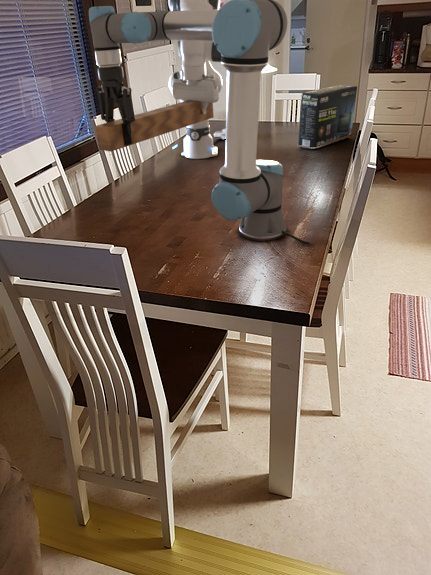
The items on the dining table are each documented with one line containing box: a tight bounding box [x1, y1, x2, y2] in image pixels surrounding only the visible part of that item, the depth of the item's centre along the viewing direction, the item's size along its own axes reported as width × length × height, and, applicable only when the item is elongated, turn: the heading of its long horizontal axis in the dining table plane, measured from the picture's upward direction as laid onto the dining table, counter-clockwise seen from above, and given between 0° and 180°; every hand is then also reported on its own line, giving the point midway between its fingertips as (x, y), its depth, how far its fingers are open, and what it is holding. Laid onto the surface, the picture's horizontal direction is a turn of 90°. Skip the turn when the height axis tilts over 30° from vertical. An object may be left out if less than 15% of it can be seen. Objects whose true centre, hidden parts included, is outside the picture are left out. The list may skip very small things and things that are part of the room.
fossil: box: [212, 127, 226, 140], centre depth 261 cm, size 18×11×15 cm
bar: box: [94, 101, 215, 153], centre depth 163 cm, size 55×6×7 cm, turn 144°
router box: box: [297, 84, 358, 151], centre depth 238 cm, size 36×11×27 cm, turn 134°
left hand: (196, 113), depth 177 cm, fingers closed on bar, 5 cm apart
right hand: (121, 143), depth 151 cm, fingers closed on bar, 6 cm apart
